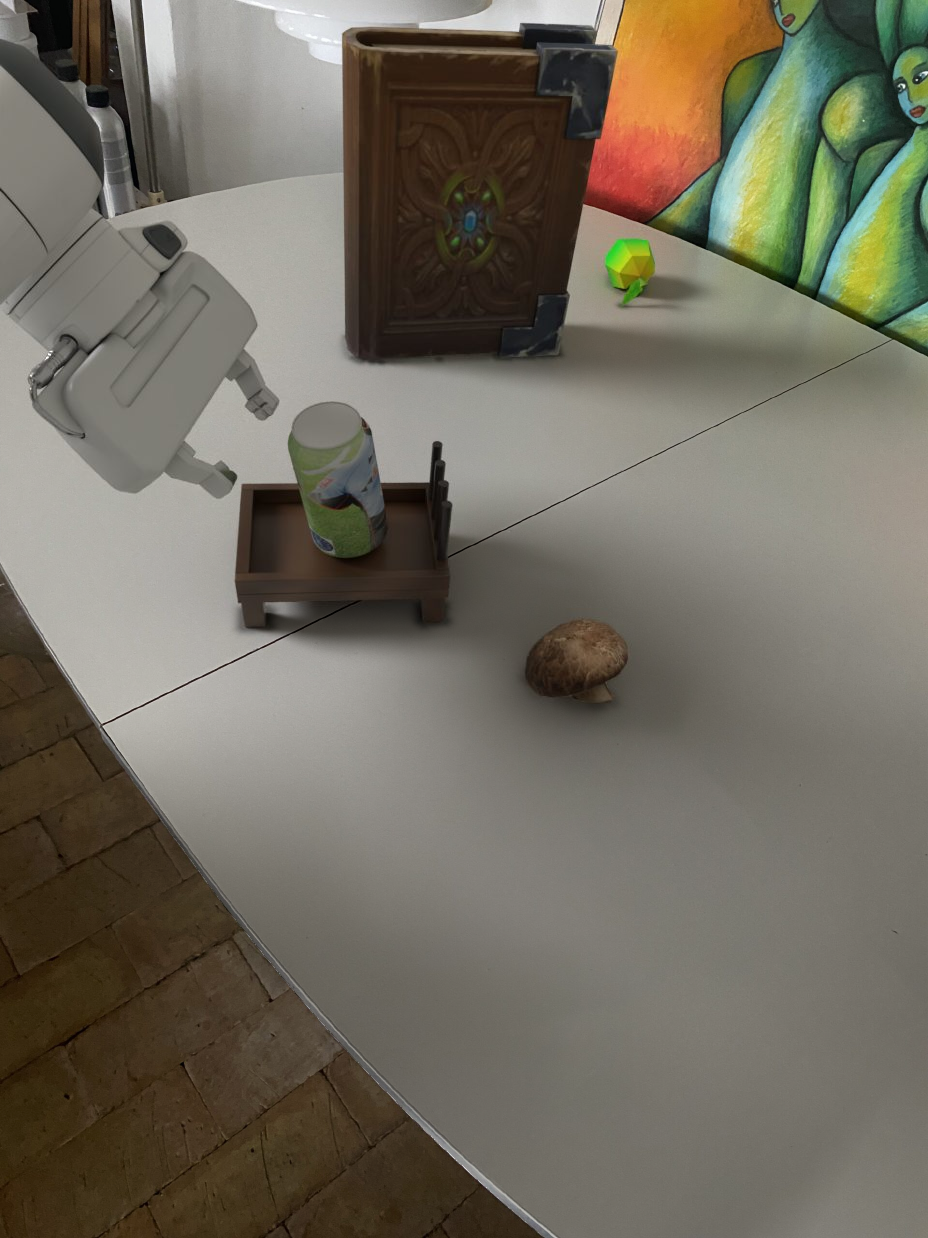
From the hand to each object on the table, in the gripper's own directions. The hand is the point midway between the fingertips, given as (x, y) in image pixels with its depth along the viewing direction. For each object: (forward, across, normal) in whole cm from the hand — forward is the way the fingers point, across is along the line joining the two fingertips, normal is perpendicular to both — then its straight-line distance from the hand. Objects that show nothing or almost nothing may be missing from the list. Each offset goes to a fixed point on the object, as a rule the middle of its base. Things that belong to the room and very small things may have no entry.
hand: (251, 448), depth 64 cm
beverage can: (+10, 0, +1) cm, 10 cm away
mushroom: (+27, -7, -10) cm, 30 cm away
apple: (+28, +58, -12) cm, 65 cm away
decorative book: (+15, +38, +2) cm, 41 cm away
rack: (+13, 0, +3) cm, 14 cm away
